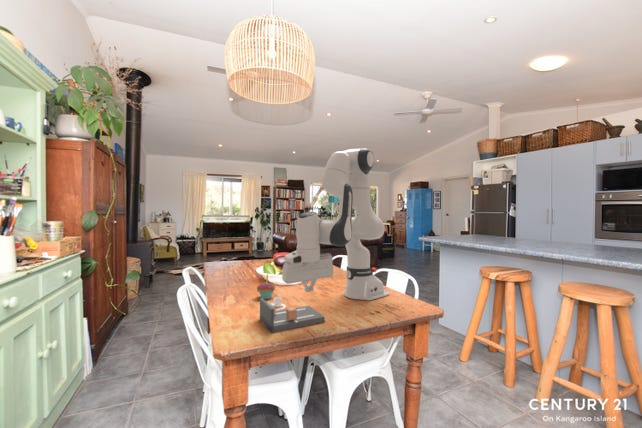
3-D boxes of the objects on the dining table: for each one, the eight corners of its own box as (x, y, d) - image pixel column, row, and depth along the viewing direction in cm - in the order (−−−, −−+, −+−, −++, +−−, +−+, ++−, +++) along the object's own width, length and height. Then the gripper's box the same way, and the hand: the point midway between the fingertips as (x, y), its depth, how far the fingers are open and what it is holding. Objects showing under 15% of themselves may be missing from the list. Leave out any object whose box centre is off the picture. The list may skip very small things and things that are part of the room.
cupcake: (277, 298, 137) (277, 273, 137) (260, 301, 133) (260, 275, 132) (270, 294, 144) (270, 270, 144) (254, 296, 140) (254, 272, 140)
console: (308, 310, 122) (308, 291, 122) (325, 322, 109) (325, 301, 108) (259, 318, 112) (259, 298, 112) (271, 333, 99) (271, 309, 99)
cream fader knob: (273, 311, 113) (273, 302, 112) (275, 314, 110) (275, 305, 110) (265, 313, 111) (265, 303, 111) (268, 315, 108) (268, 306, 108)
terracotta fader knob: (293, 316, 108) (293, 306, 108) (296, 319, 105) (296, 309, 105) (286, 317, 107) (286, 308, 106) (289, 320, 104) (289, 310, 104)
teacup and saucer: (266, 311, 121) (266, 302, 121) (265, 305, 128) (265, 296, 128) (287, 309, 123) (287, 300, 123) (284, 304, 131) (284, 295, 131)
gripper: (328, 251, 116) (328, 284, 117) (280, 256, 107) (281, 293, 108) (336, 253, 111) (336, 289, 112) (286, 259, 101) (287, 298, 102)
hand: (309, 291), depth 110 cm, fingers closed
